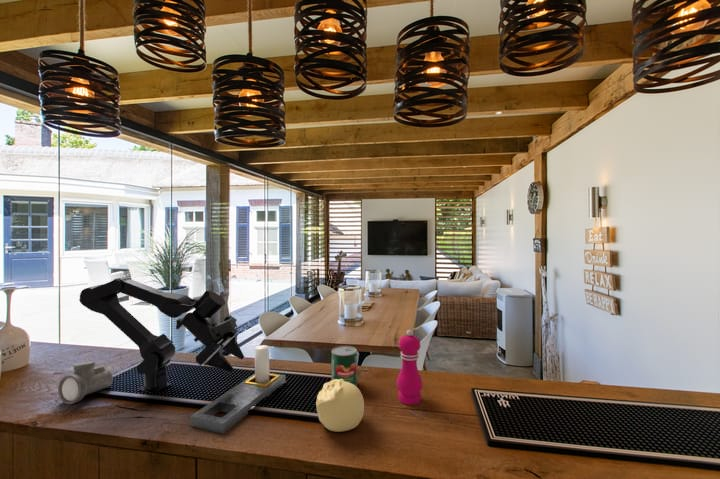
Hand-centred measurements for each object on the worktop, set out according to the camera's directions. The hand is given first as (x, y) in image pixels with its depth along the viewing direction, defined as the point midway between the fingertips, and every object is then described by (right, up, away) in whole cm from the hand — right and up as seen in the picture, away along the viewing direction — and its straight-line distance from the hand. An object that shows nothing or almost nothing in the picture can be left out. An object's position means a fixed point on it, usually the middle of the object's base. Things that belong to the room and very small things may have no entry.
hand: (238, 364), depth 106 cm
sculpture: (+32, -8, -19) cm, 39 cm away
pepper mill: (+51, -7, -8) cm, 53 cm away
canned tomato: (+32, -7, +2) cm, 33 cm away
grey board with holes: (+4, -8, -8) cm, 12 cm away
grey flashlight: (-43, -8, -3) cm, 44 cm away
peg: (+7, -7, 0) cm, 11 cm away
